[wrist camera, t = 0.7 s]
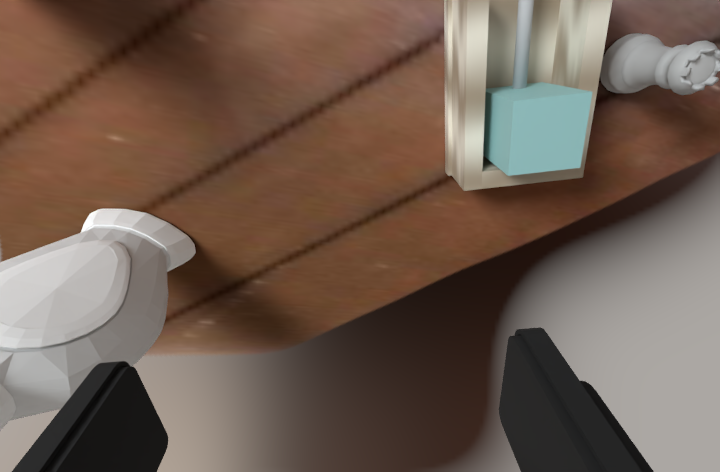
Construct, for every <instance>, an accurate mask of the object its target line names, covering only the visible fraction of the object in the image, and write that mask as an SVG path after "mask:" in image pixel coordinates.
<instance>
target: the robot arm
mask: <svg viewBox="0 0 720 472" xmlns="http://www.w3.org/2000/svg"><path fill="white" fill-rule="evenodd" d="M499 414H500V419H501V423H502V426H503V428H504V431H505V433H506V436H507V438H508V441H509V443H510V445H511V448H512V450H513V452H514V455H515V458H516V460H517V463H518V465H519V467H520V470H521V472H653V470H652V469H651V467H650V466H649V465H648V463H647V462H646V461H645V459H644V458H643V456H642V455H641V453H640V452H639V451H638V449H637V448H636V446H635V445H634V444H633V442H632V441H631V440H630V438H629V437H628V435H627V434H626V432H625V431H624V430H623V428H622V427H621V425H620V424H619V423H618V421H617V420H616V419H615V417H614V416H613V414H612V413H611V411H610V410H609V409H608V407H607V406H606V404H605V403H604V402H603V400H602V399H601V397H600V396H599V395H598V393H597V392H596V391H595V390H594V388H593V387H592V386H591V385H590V384H588V383H587V382H585V381H579V379H578V378H577V376H576V375H575V374H574V372H573V371H572V369H571V368H570V366H569V365H568V363H567V362H566V361H565V359H564V358H563V356H562V355H561V353H560V352H559V350H558V349H557V347H556V346H555V345H554V343H553V342H552V340H551V339H550V337H549V336H548V334H547V333H546V332H545V330H544V329H542V328H530V329H519V330H517V331H516V332H515V336H510V337H509V339H508V346H507V353H506V361H505V369H504V376H503V383H502V392H501V398H500V407H499ZM167 445H168V436H167V433H166V431H165V429H164V427H163V424H162V422H161V420H160V418H159V416H158V414H157V413H156V410H155V408H154V406H153V404H152V402H151V400H150V398H149V396H148V394H147V392H146V389H145V387H144V385H143V383H142V381H141V379H140V377H139V375H138V373H137V371H136V369H135V368H134V367H130V365H129V364H128V363H127V362H126V361H118V362H106V363H99V364H97V365H96V366H95V367H94V368H93V369H92V370H91V372H90V373H89V374H88V375H87V377H86V378H85V379H84V381H83V382H82V383H81V384H80V386H79V387H78V388H77V389H76V391H75V392H74V393H73V395H72V396H71V397H70V398H69V400H68V401H67V402H66V403H65V405H64V406H63V407H62V409H61V410H60V411H59V413H58V414H57V415H56V416H55V417H54V419H53V420H52V421H51V423H50V424H49V425H48V426H47V428H46V429H45V430H44V432H43V433H42V434H41V435H40V437H39V438H38V439H37V440H36V442H35V443H34V444H33V445H32V447H31V448H30V449H29V451H28V452H27V453H26V454H25V456H24V457H23V458H22V459H21V461H20V462H19V463H18V465H17V466H16V467H15V468H14V470H13V471H12V472H157V469H158V467H159V465H160V463H161V460H162V458H163V456H164V454H165V452H166V449H167Z"/></svg>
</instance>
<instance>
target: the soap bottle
mask: <svg viewBox="0 0 720 472" xmlns="http://www.w3.org/2000/svg"><path fill="white" fill-rule="evenodd" d="M195 253H196V250H195V244H194V243H193V242H192V240H191V239H190V238H189V236H188V235H186V234H185V233H183V232H182V231H180V230H179V229H177V228H176V227H174V226H173V225H171V224H170V223H168V222H166V221H164V220H161V219H159V218H157V217H155V216H153V215H151V214H148V213H144V212H139V211H134V210H128V209H99V210H97V211H94V212H92V213H90V215H89V216H88V218H87V219H86V221H85V223H84V225H83V228H82V231H81V233H79V234H76V235H73V236H71V237H68V238H65V239H63V240H60V241H57V242H55V243H52V244H49V245H46V246H44V247H41V248H38V249H36V250H33V251H30V252H27V253H25V254H22V255H19V256H17V257H14V258H11V259H8V260H6V261H3V262H0V430H1V429H2V428H3V427H4V426H5V425H6V424H7V423H8V421H10V420H14V419H18V418H22V417H27V416H32V415H36V414H40V413H44V412H49V411H54V410H58V409H62V407H63V406H64V405H65V403H66V402H67V401H68V400H69V398H70V397H71V396H72V395H73V393H74V392H75V391H76V389H77V388H78V387H79V386H80V384H81V383H82V382H83V381H84V379H85V378H86V377H87V375H88V374H89V373H90V372H91V370H92V369H93V368H94V367H95V366H96V365H97V364H99V363H106V362H118V361H126V362H127V363H128V364H129V365H130V367H132V366H133V365H134V364H135V363H136V362H138V361H139V360H140V359H141V358H142V356H143V355H144V354H145V353H146V352H147V351H148V350H149V349H150V347H151V346H152V345H153V344H154V342H155V341H156V339H157V338H158V336H159V334H160V333H161V331H162V328H163V325H164V321H165V318H166V310H167V301H168V283H167V272H168V271H170V270H172V269H174V268H176V267H178V266H180V265H182V264H184V263H185V262H187V261H189V260H190V259H191V258H192V257H193V256H194V255H195Z"/></svg>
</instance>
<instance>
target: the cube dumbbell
mask: <svg viewBox="0 0 720 472" xmlns="http://www.w3.org/2000/svg"><path fill="white" fill-rule="evenodd" d="M533 6H534V0H518V14H517V28H516V43H515V57H514V71H513V85H512V86H504V87H496V88H487V89H486V93H485V118H484V143H483V156H485V157H486V158H487V159H488V160H489V161H491V162H492V163H493V164H494V165H496V166H497V167H498V168H499V169H500V170H502V171H503V172H504V173H505V174H506V175H508V176H512V175H520V174H529V173H538V172H547V171H556V170H565V169H573V168H580V166H581V160H582V154H583V148H584V141H585V135H586V129H587V123H588V117H589V111H590V104H591V98H592V92H591V91H586V90H581V89H576V88H571V87H565V86H560V85H555V84H550V83H545V82H538V83H529V84H527V75H528V64H529V52H530V41H531V29H532V18H533Z"/></svg>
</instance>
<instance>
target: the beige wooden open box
mask: <svg viewBox="0 0 720 472" xmlns="http://www.w3.org/2000/svg"><path fill="white" fill-rule="evenodd" d="M611 6H612V0H534V6H533V18H532V29H531V41H530V52H529V64H528V75H527V84H529V83H538V82H545V83H550V84H555V85H560V86H565V87H571V88H576V89H581V90H586V91H591V92H592V98H591V104H590V111H589V117H588V123H587V129H586V135H585V141H584V148H583V154H582V160H581V166H580V168H573V169H565V170H556V171H547V172H538V173H529V174H520V175H512V176H508V175H506V174H505V173H504V172H503V171H502V170H500V169H499V168H498V167H497V166H496V165H494V164H493V163H492V162H491V161H489V160H488V159H487V158H486V157H485V156H483V143H484V118H485V93H486V89H487V88H496V87H504V86H512V85H513V71H514V57H515V43H516V28H517V14H518V0H444V30H445V172H446V173H447V175H448V176H451V175H452V176H453V178H454V179H455V180H456V181H457V183H458V184H459V185H460V186H461V188H462V189H463V190H464V191H468V190H477V189H485V188H494V187H503V186H512V185H521V184H530V183H539V182H548V181H557V180H565V179H574V178H583V173H584V167H585V161H586V155H587V149H588V143H589V137H590V131H591V125H592V119H593V113H594V107H595V101H596V95H597V89H598V83H599V78H600V72H601V66H602V60H603V54H604V48H605V42H606V36H607V30H608V24H609V18H610V12H611Z"/></svg>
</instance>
